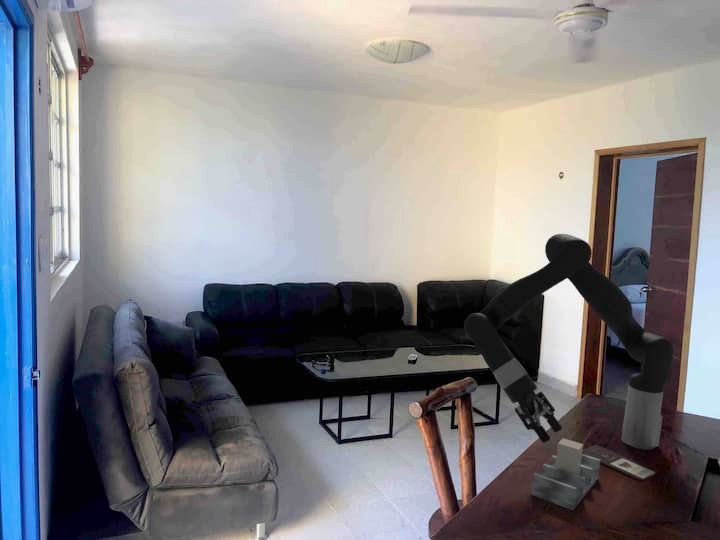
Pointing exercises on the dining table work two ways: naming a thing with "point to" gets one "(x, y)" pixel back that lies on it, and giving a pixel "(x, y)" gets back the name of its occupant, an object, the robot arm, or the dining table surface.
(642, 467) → the chocolate bar
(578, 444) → the clay bar
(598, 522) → the dining table surface
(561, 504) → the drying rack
